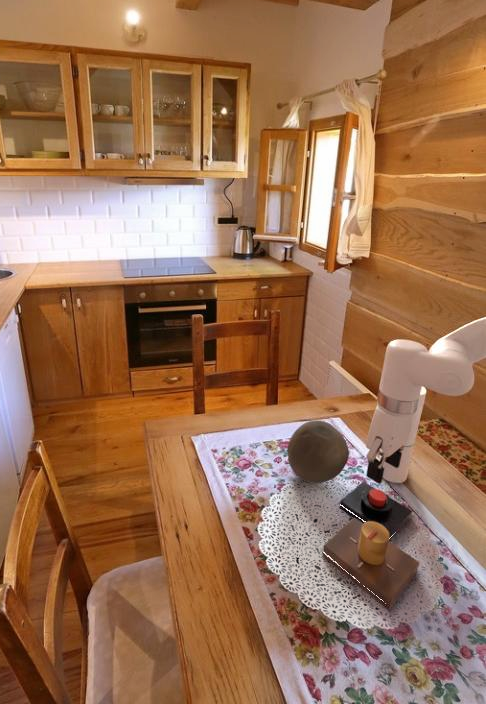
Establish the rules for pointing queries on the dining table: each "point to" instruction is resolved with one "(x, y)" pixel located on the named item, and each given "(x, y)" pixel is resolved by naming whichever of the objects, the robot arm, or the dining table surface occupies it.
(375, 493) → the red button
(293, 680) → the dining table surface
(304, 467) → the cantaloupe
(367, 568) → the knob panel
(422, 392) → the cylindrical container
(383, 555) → the dial knob
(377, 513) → the button box
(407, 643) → the dining table surface
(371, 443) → the robot arm
